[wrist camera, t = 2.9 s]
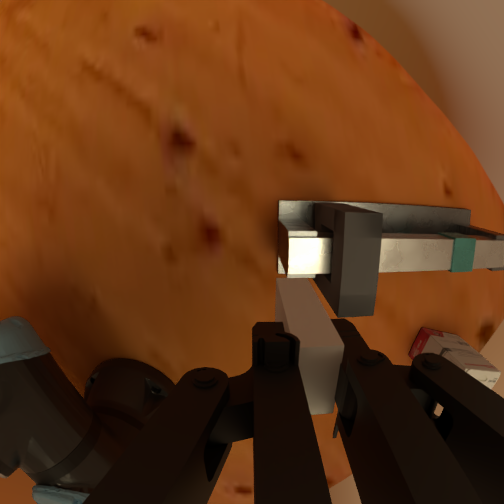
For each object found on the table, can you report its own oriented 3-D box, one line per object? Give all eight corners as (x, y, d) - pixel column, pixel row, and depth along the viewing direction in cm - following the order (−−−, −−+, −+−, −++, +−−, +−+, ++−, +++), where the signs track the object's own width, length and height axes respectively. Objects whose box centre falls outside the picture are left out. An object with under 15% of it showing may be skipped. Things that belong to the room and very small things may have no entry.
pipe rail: (277, 271, 35) (287, 303, 26) (278, 200, 34) (290, 207, 24) (460, 266, 36) (504, 288, 26) (466, 209, 34) (514, 219, 25)
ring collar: (312, 278, 33) (337, 317, 23) (315, 202, 31) (345, 212, 21) (339, 278, 33) (373, 315, 23) (343, 203, 31) (383, 213, 21)
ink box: (406, 355, 39) (445, 403, 27) (421, 325, 38) (466, 368, 26) (445, 361, 39) (484, 403, 28) (459, 334, 38) (503, 372, 27)
